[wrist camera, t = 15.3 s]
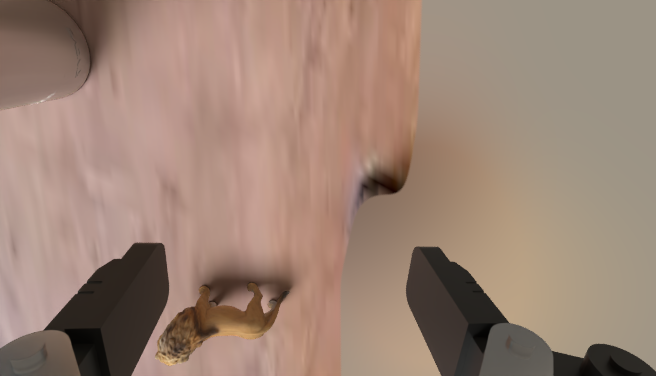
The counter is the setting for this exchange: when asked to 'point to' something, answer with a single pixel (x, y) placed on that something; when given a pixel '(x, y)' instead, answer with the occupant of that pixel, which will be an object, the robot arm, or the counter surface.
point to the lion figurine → (214, 324)
